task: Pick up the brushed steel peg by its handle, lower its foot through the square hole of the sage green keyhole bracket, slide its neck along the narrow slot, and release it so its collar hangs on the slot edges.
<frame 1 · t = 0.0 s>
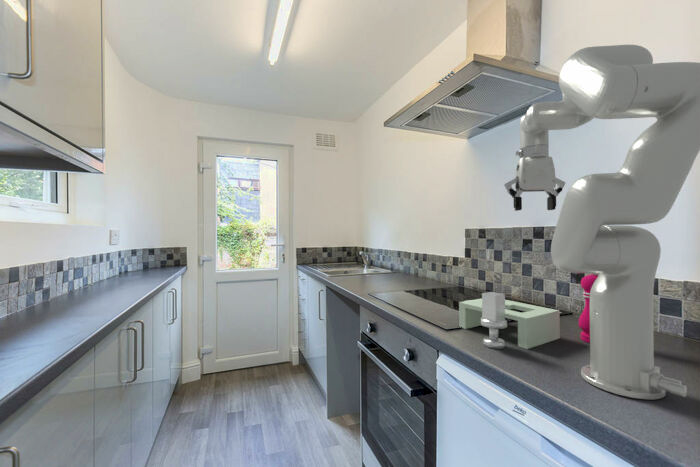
hand: (534, 210, 94), 37 cm above the countertop, tool pointing down, fingers open, 9 cm apart
steel peg: (493, 345, 82), on the countertop
small box: (475, 314, 114), on the countertop
keyhole bracket: (506, 332, 93), on the countertop
pepper mill: (594, 341, 85), on the countertop
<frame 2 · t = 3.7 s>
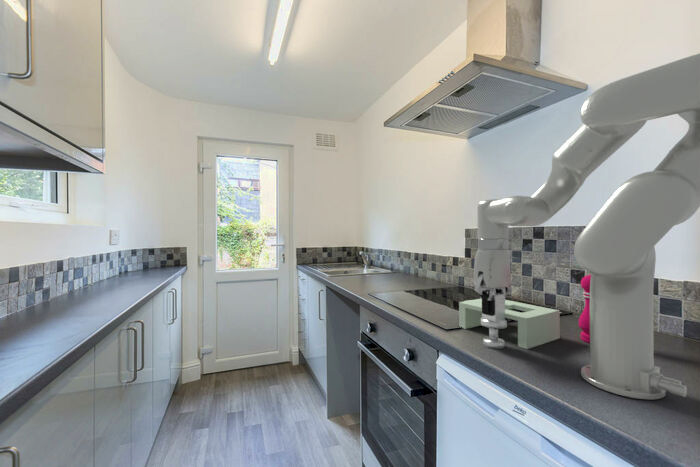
hand: (493, 312, 82), 9 cm above the countertop, tool pointing down, fingers closed on steel peg, 4 cm apart
steel peg: (493, 345, 82), on the countertop, touching gripper
everything else where it was.
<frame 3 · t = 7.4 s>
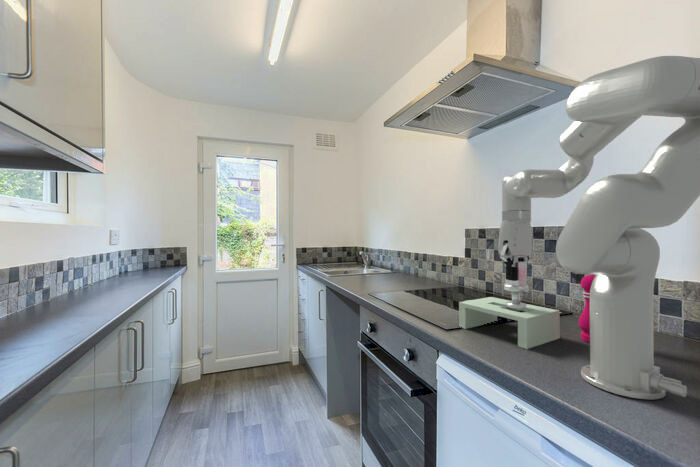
hand: (516, 278, 90), 17 cm above the countertop, tool pointing down, fingers closed on steel peg, 4 cm apart
steel peg: (516, 308, 90), point 8 cm above the countertop, touching gripper
everything else where it was.
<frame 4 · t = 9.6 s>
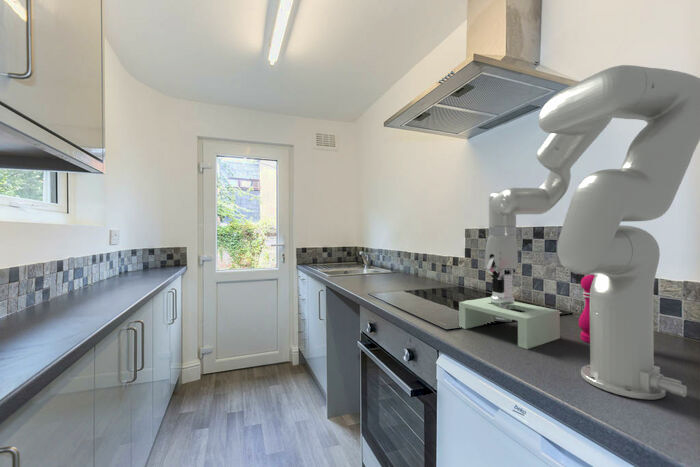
hand: (502, 291, 94), 12 cm above the countertop, tool pointing down, fingers closed on steel peg, 4 cm apart
steel peg: (502, 319, 94), point 4 cm above the countertop, touching gripper
everything else where it was.
when the fingers open (12 cm above the countertop, at t = 11.3 s): steel peg stays where it is, resting on keyhole bracket.
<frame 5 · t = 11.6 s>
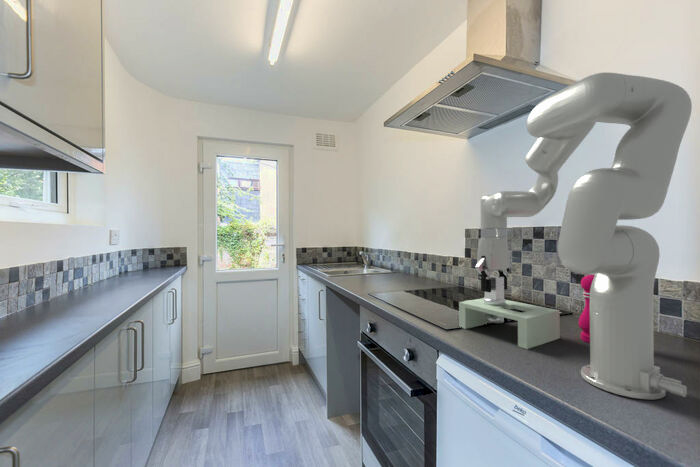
hand: (494, 289, 96), 12 cm above the countertop, tool pointing down, fingers open, 7 cm apart
steel peg: (494, 320, 96), point 2 cm above the countertop, touching keyhole bracket
everything else where it was.
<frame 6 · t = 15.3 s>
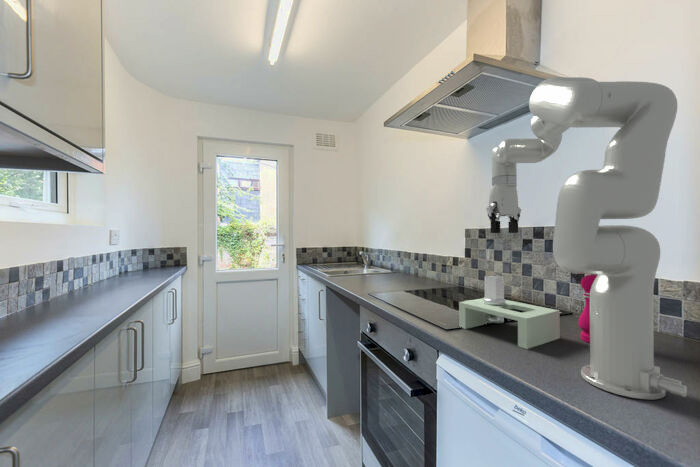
hand: (504, 232, 104), 30 cm above the countertop, tool pointing down, fingers open, 9 cm apart
nothing on the countertop moved.
at the end: steel peg 0.6 cm from the target spot on the keyhole bracket, point 2.5 cm above the keyhole bracket's base; steel peg tilted 0°; the gripper is holding nothing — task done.
